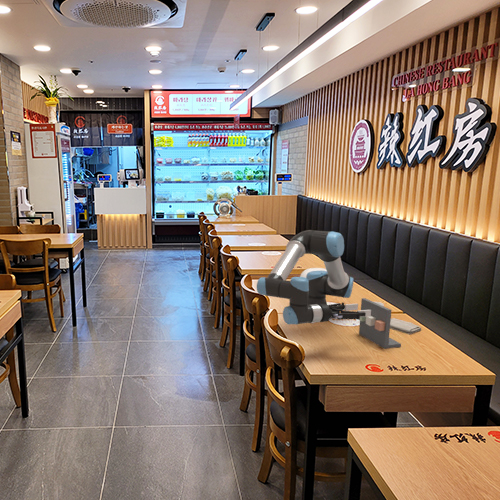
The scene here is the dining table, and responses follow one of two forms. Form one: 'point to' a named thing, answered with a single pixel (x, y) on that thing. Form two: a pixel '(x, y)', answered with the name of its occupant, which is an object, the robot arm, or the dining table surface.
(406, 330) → the washcloth
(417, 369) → the dining table surface
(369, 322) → the ivory button
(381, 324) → the terracotta button
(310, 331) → the dining table surface
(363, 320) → the sage button
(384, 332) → the button panel
